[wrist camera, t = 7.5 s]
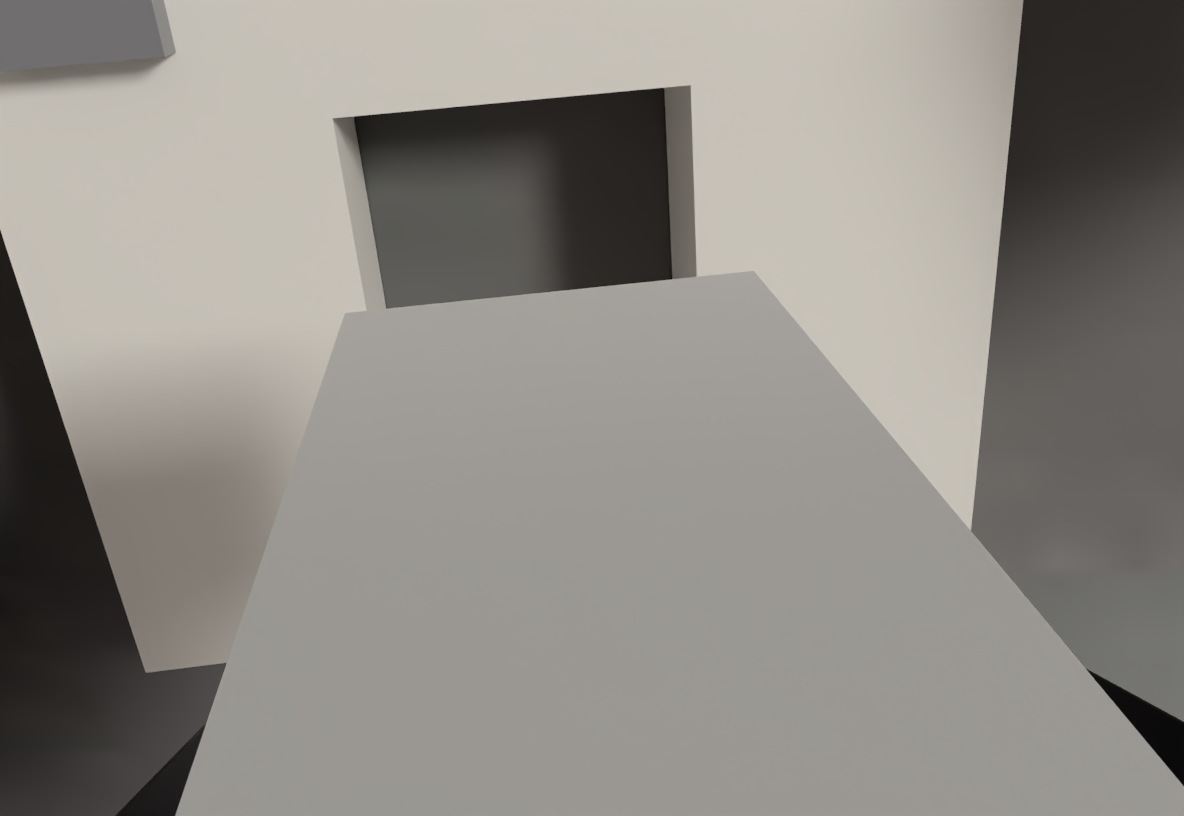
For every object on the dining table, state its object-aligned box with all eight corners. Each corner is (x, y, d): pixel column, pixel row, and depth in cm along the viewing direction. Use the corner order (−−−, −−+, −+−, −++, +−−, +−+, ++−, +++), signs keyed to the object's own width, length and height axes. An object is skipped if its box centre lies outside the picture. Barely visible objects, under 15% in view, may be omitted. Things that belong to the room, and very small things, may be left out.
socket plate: (917, 505, 23) (980, 586, 20) (179, 595, 22) (136, 694, 19) (970, -237, 17) (1072, -271, 14) (-47, -162, 16) (-159, -182, 13)
